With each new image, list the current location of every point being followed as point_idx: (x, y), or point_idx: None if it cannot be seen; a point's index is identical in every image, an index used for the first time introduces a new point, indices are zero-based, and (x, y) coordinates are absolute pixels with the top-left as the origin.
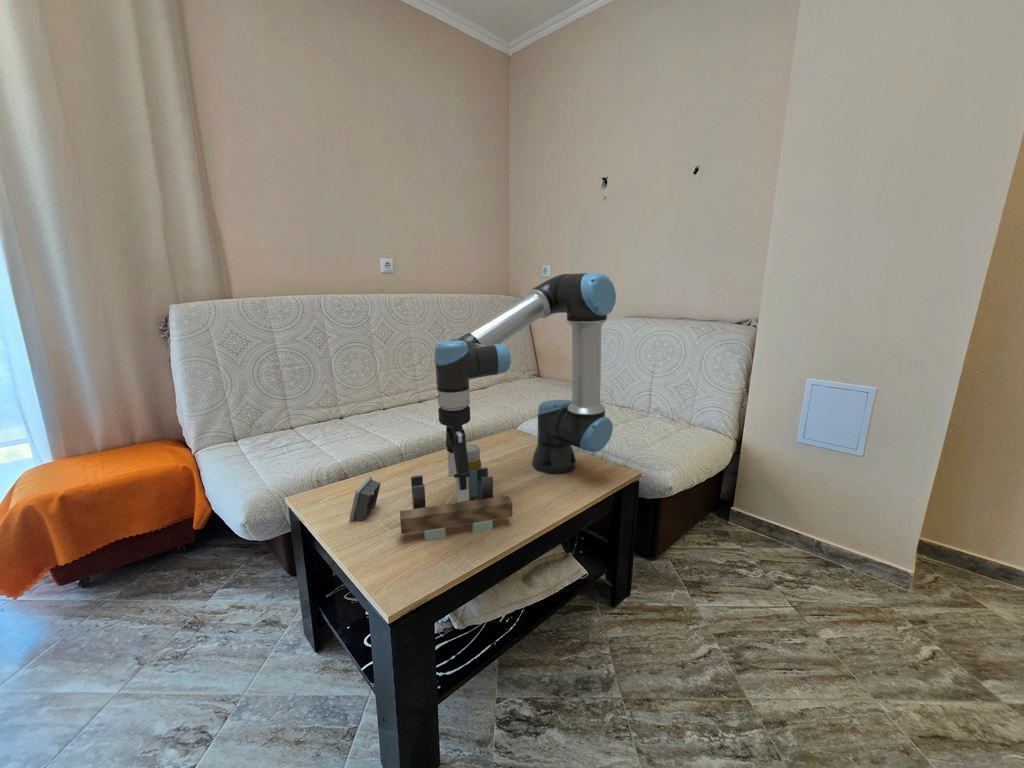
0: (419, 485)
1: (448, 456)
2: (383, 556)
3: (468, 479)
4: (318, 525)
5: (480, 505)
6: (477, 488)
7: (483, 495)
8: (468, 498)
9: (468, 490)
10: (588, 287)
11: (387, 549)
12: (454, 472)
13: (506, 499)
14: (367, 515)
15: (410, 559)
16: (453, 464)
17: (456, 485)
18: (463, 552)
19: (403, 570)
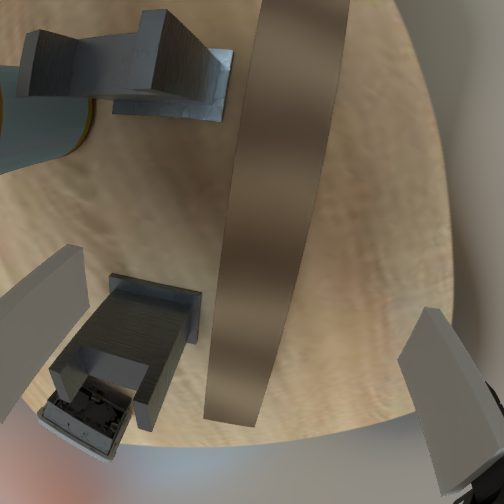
0: (135, 412)
1: (10, 405)
2: (289, 404)
3: (35, 132)
4: (134, 441)
5: (302, 151)
6: (93, 97)
7: (192, 92)
8: (443, 319)
9: (465, 351)
10: None
11: (267, 395)
12: (71, 289)
13: (304, 6)
14: (111, 388)
15: (334, 368)
16: (37, 329)
17: (426, 434)
18: (390, 251)
19: (361, 383)
